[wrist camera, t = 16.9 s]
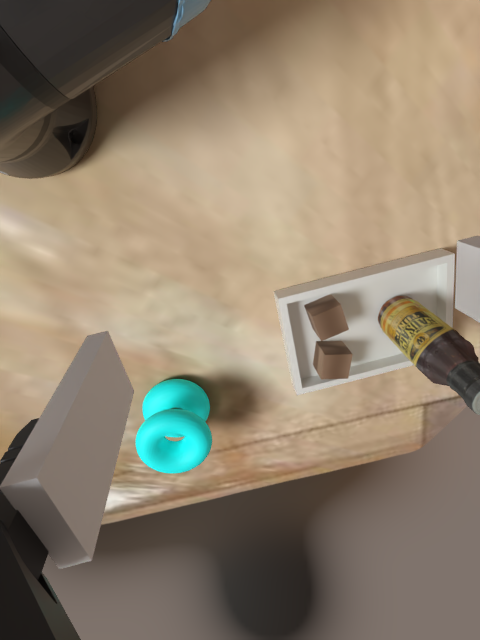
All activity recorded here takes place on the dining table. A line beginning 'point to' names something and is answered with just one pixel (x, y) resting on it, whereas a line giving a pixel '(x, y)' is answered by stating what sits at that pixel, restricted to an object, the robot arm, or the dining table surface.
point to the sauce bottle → (433, 347)
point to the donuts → (174, 427)
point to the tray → (363, 314)
